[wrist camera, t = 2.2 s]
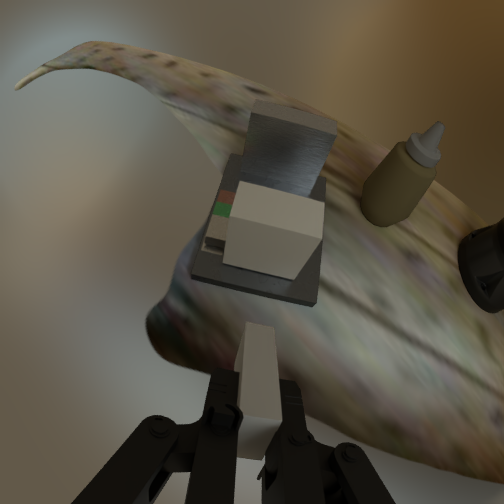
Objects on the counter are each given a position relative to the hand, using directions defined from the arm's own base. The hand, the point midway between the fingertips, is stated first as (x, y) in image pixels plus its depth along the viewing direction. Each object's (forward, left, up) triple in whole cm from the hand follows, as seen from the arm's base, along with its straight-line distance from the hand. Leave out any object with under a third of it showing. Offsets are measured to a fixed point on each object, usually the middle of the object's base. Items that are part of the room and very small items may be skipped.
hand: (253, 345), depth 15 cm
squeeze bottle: (-17, -26, -16) cm, 34 cm away
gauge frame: (-1, -18, -15) cm, 24 cm away
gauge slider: (+1, -14, -14) cm, 20 cm away
